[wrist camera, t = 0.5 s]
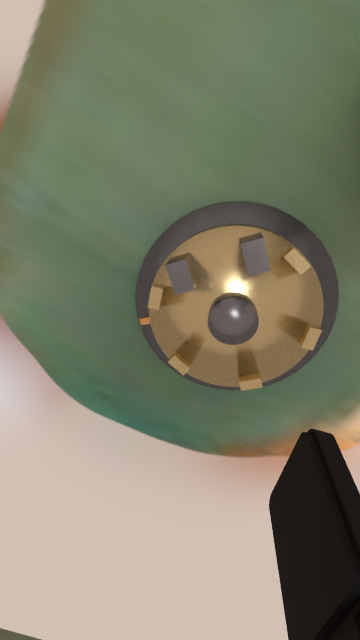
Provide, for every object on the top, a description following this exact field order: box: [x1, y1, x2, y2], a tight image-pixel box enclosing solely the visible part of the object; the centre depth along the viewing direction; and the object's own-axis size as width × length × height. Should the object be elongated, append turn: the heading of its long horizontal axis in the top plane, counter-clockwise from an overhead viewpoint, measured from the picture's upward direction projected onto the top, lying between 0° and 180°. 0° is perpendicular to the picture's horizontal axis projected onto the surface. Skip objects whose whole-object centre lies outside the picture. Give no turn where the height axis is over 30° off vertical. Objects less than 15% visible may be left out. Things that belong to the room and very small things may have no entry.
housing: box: [136, 201, 338, 390], centre depth 37 cm, size 22×22×2 cm
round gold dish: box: [148, 224, 324, 391], centre depth 34 cm, size 18×18×5 cm
